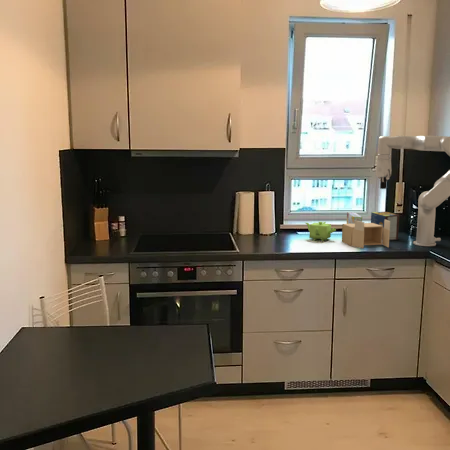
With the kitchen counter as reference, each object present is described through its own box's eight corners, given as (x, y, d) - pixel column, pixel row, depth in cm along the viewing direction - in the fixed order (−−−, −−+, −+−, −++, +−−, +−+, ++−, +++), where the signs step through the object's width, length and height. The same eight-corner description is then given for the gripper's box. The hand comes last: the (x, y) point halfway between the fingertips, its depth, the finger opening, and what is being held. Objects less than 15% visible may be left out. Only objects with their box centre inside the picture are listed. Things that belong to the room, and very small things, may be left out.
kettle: (303, 238, 332) (304, 220, 330) (323, 236, 336) (324, 219, 334) (315, 242, 318) (316, 224, 316) (336, 241, 322) (337, 223, 320)
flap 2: (381, 244, 312) (383, 219, 310) (382, 244, 312) (384, 219, 310) (387, 247, 303) (389, 221, 301) (388, 247, 303) (390, 221, 301)
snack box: (361, 241, 323) (362, 216, 321) (352, 241, 323) (353, 216, 321) (353, 234, 344) (355, 211, 342) (345, 234, 344) (346, 211, 342)
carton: (371, 240, 325) (372, 222, 323) (381, 244, 313) (382, 226, 312) (341, 241, 320) (342, 223, 319) (350, 245, 309) (351, 227, 307)
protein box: (383, 235, 343) (384, 211, 340) (398, 239, 329) (399, 214, 326) (369, 236, 340) (370, 212, 337) (383, 240, 325) (385, 215, 323)
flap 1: (351, 245, 308) (353, 220, 305) (352, 245, 308) (353, 220, 305) (362, 248, 300) (364, 222, 297) (363, 248, 300) (364, 222, 298)
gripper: (372, 157, 317) (370, 187, 320) (385, 158, 303) (384, 190, 306) (383, 156, 319) (381, 187, 322) (397, 157, 305) (395, 189, 308)
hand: (383, 188), depth 314 cm, fingers closed
